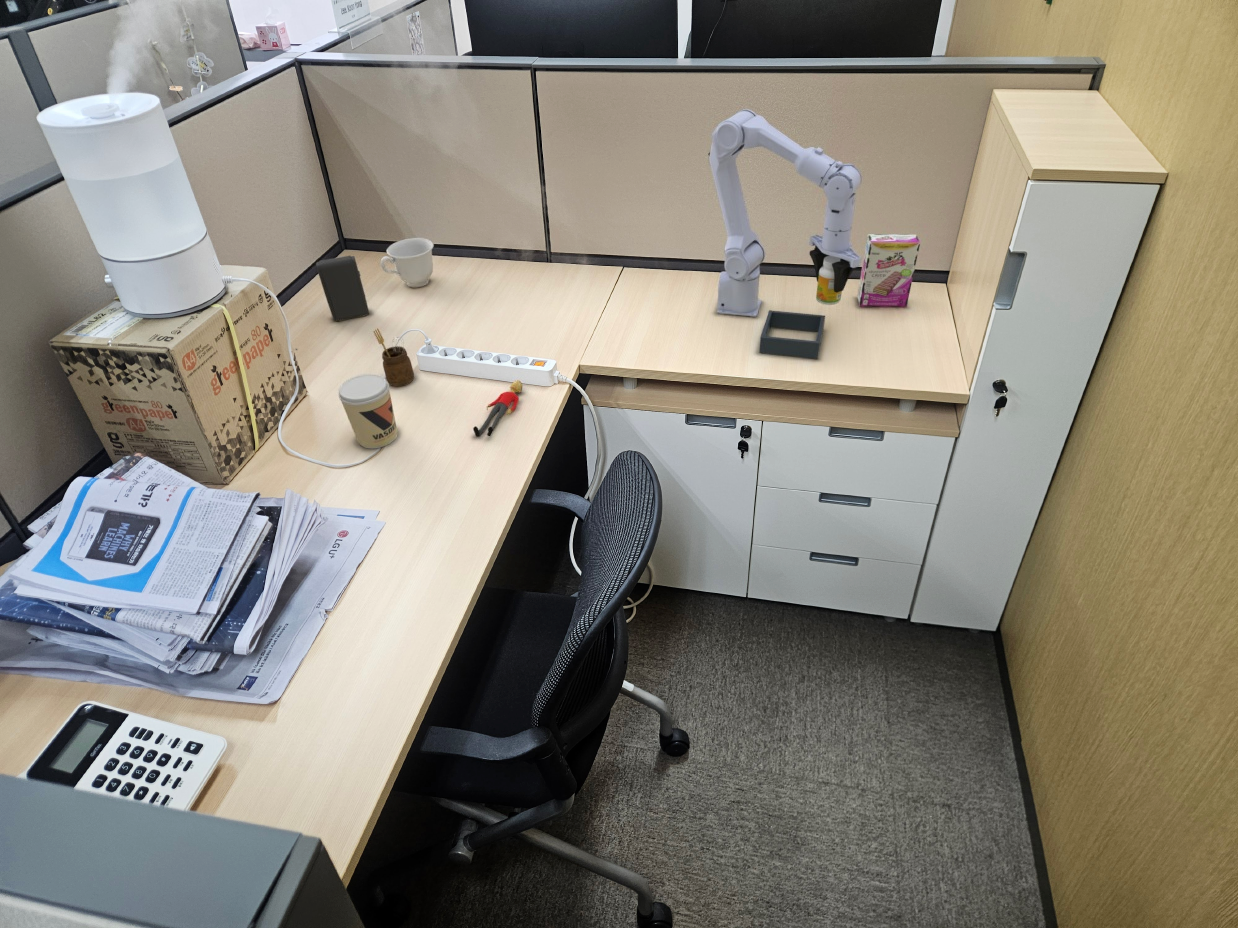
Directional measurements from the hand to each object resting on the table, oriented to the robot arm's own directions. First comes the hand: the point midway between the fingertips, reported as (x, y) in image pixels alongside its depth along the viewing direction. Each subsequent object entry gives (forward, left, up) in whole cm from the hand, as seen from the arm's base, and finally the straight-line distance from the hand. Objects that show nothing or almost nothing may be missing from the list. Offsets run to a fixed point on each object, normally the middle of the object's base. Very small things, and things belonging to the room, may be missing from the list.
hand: (830, 286), depth 175 cm
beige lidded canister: (-81, -61, -11) cm, 102 cm away
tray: (-7, -8, -10) cm, 15 cm away
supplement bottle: (0, 0, -4) cm, 4 cm away
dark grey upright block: (-114, -17, -11) cm, 116 cm away
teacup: (-107, +2, -11) cm, 108 cm away
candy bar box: (+12, +15, -11) cm, 22 cm away
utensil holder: (-87, -41, -11) cm, 97 cm away
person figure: (-60, -48, -11) cm, 78 cm away
